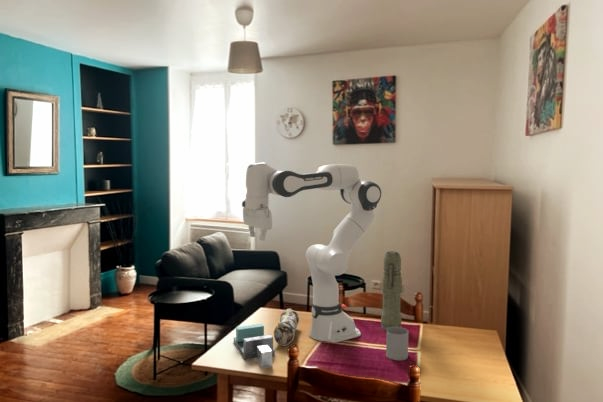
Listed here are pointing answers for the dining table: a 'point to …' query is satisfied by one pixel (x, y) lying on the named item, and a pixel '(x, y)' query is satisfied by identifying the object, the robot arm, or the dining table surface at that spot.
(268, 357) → the steel block
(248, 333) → the bar
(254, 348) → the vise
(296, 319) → the pencil case
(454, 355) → the dining table surface
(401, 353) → the cup
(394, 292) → the grey-green stone column
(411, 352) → the dining table surface
